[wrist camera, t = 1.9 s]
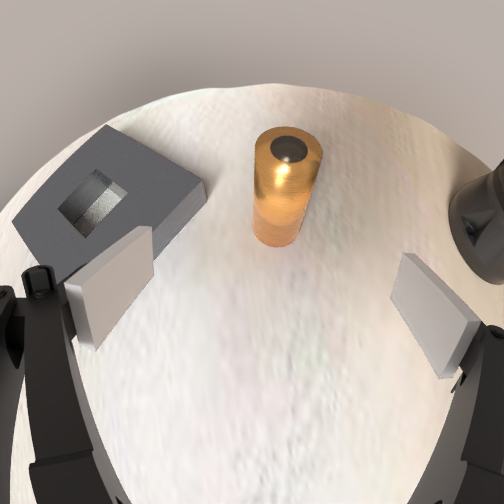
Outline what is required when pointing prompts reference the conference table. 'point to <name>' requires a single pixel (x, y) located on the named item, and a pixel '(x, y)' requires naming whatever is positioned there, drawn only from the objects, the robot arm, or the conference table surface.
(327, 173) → the conference table surface
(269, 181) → the bushing
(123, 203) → the jig
